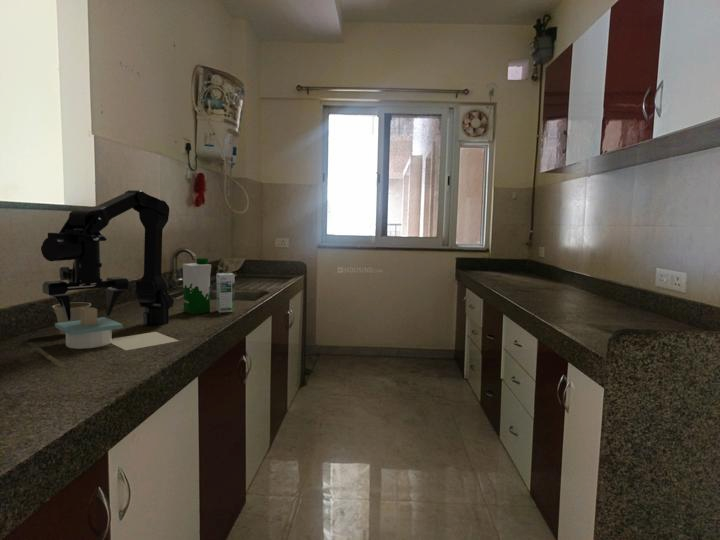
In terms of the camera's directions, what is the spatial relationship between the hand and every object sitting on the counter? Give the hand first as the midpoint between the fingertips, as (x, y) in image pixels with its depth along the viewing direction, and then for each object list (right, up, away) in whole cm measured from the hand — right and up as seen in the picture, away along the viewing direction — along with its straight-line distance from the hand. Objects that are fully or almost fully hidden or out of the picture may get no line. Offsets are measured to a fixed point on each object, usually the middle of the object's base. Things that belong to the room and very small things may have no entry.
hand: (88, 318), depth 117 cm
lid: (0, -3, 0) cm, 3 cm away
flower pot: (-12, -6, +12) cm, 18 cm away
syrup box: (+20, -3, +53) cm, 57 cm away
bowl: (0, -7, +1) cm, 8 cm away
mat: (+11, -7, +5) cm, 15 cm away
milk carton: (+10, -3, +50) cm, 51 cm away
